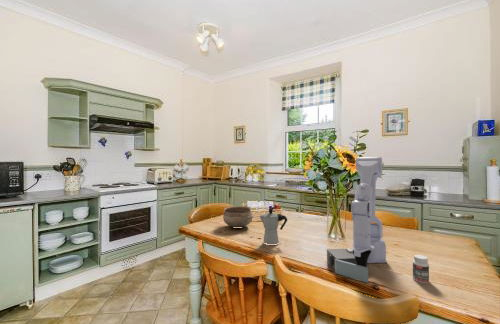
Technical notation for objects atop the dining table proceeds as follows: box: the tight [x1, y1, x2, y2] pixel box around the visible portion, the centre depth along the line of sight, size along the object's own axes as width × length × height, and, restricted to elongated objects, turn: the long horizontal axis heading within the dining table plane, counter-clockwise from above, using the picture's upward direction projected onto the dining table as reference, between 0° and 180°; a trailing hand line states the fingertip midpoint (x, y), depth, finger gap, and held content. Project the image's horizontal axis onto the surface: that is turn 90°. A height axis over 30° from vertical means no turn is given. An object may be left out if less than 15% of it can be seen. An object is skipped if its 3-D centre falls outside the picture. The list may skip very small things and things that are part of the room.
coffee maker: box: [258, 208, 288, 244], centre depth 126 cm, size 15×9×18 cm, turn 83°
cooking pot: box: [222, 205, 254, 228], centre depth 157 cm, size 25×19×12 cm
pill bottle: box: [412, 254, 430, 284], centre depth 86 cm, size 5×5×8 cm
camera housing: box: [326, 247, 368, 271], centre depth 98 cm, size 13×10×6 cm
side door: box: [334, 259, 369, 283], centre depth 88 cm, size 12×1×5 cm, turn 48°
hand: (361, 270), depth 89 cm, fingers closed
